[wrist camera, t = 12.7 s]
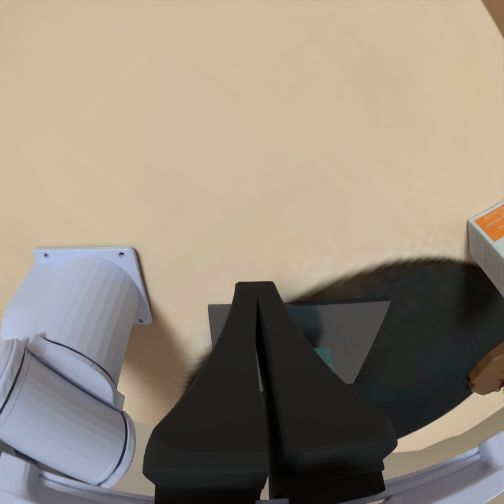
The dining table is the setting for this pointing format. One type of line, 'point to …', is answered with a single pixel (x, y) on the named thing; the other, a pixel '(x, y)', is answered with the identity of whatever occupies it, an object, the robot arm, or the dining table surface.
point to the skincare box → (489, 243)
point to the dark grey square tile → (327, 329)
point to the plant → (488, 372)
